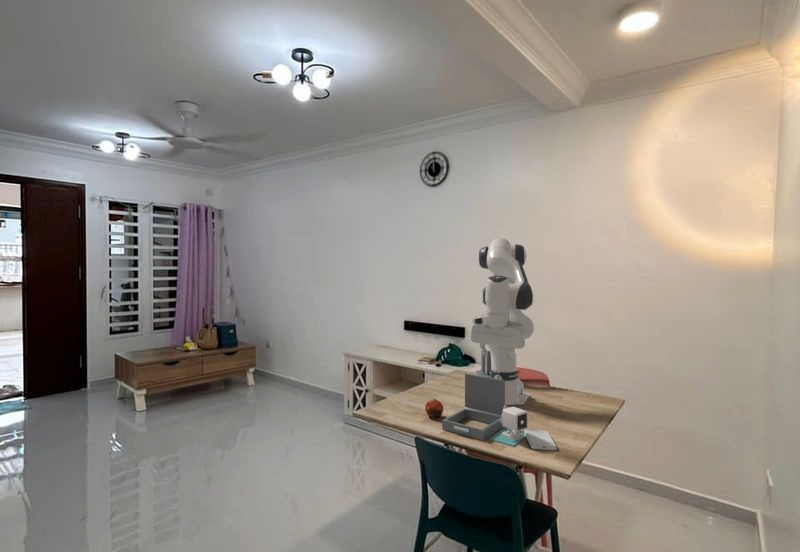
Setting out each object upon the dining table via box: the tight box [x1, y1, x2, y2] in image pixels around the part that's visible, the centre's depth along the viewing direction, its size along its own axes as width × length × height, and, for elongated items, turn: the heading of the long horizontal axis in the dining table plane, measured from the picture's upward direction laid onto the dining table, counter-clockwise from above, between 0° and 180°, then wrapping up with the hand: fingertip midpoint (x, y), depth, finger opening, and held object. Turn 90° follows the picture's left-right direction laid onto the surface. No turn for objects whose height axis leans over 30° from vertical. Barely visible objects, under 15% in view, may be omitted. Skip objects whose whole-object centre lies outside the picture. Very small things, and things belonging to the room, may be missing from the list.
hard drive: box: [523, 429, 558, 451], centre depth 149 cm, size 2×8×12 cm
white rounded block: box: [502, 406, 529, 441], centre depth 152 cm, size 6×7×10 cm
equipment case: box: [441, 373, 507, 442], centre depth 162 cm, size 19×18×18 cm
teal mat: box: [489, 428, 526, 447], centre depth 153 cm, size 12×9×1 cm
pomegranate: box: [424, 398, 444, 421], centre depth 174 cm, size 7×7×10 cm
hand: (497, 357), depth 158 cm, fingers open, 8 cm apart
